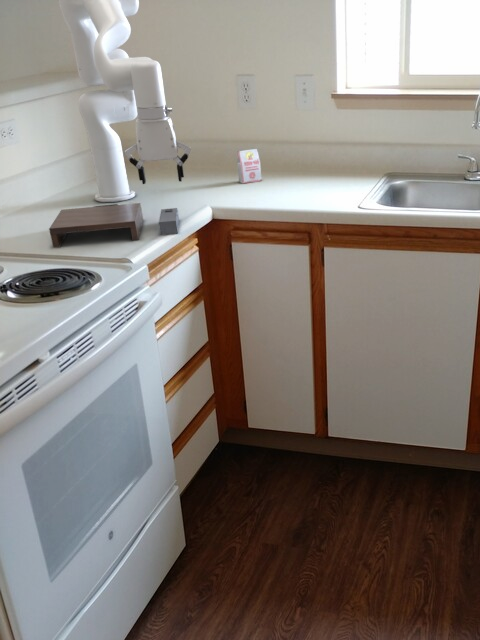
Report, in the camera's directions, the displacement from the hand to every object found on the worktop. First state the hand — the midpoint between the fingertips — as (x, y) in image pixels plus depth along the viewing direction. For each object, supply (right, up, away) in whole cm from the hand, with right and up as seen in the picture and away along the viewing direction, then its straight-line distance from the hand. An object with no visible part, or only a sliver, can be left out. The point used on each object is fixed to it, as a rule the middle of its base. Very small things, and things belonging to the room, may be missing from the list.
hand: (162, 181), depth 204 cm
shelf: (-18, -13, +4) cm, 22 cm away
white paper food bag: (+19, +17, +51) cm, 57 cm away
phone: (-22, -3, +21) cm, 30 cm away
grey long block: (+1, -11, +6) cm, 12 cm away
